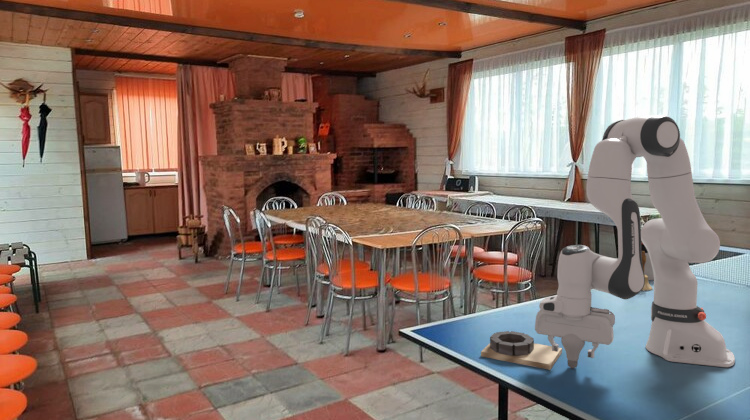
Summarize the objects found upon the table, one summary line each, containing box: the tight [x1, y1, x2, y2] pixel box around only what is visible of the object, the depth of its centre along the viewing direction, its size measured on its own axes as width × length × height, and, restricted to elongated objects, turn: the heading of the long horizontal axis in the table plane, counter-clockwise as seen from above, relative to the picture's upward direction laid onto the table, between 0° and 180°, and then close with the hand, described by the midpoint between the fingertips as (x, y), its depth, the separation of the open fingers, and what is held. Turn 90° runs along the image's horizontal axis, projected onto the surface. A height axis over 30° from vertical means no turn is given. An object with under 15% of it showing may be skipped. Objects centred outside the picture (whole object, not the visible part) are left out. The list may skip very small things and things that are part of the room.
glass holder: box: [641, 243, 654, 281], centre depth 249 cm, size 9×14×15 cm, turn 171°
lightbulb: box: [560, 334, 586, 369], centre depth 149 cm, size 6×6×11 cm
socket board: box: [480, 330, 563, 371], centre depth 159 cm, size 20×14×4 cm
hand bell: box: [641, 251, 654, 292], centre depth 229 cm, size 8×8×16 cm
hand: (572, 353), depth 149 cm, fingers open, 8 cm apart
